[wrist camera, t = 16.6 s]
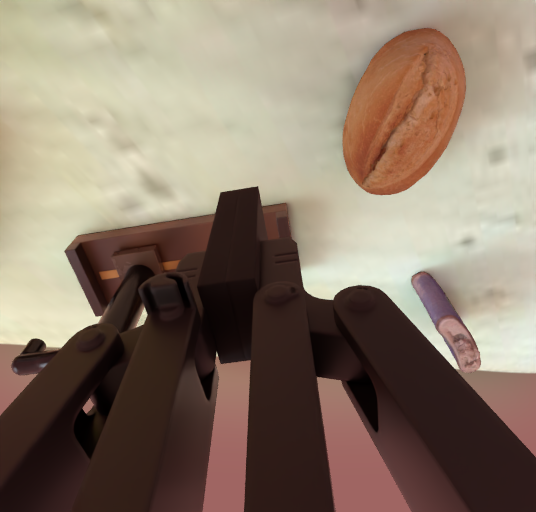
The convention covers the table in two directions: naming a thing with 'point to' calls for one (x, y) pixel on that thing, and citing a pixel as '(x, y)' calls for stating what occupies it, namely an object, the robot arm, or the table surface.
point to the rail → (160, 234)
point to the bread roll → (403, 111)
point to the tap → (117, 312)
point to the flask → (447, 322)
